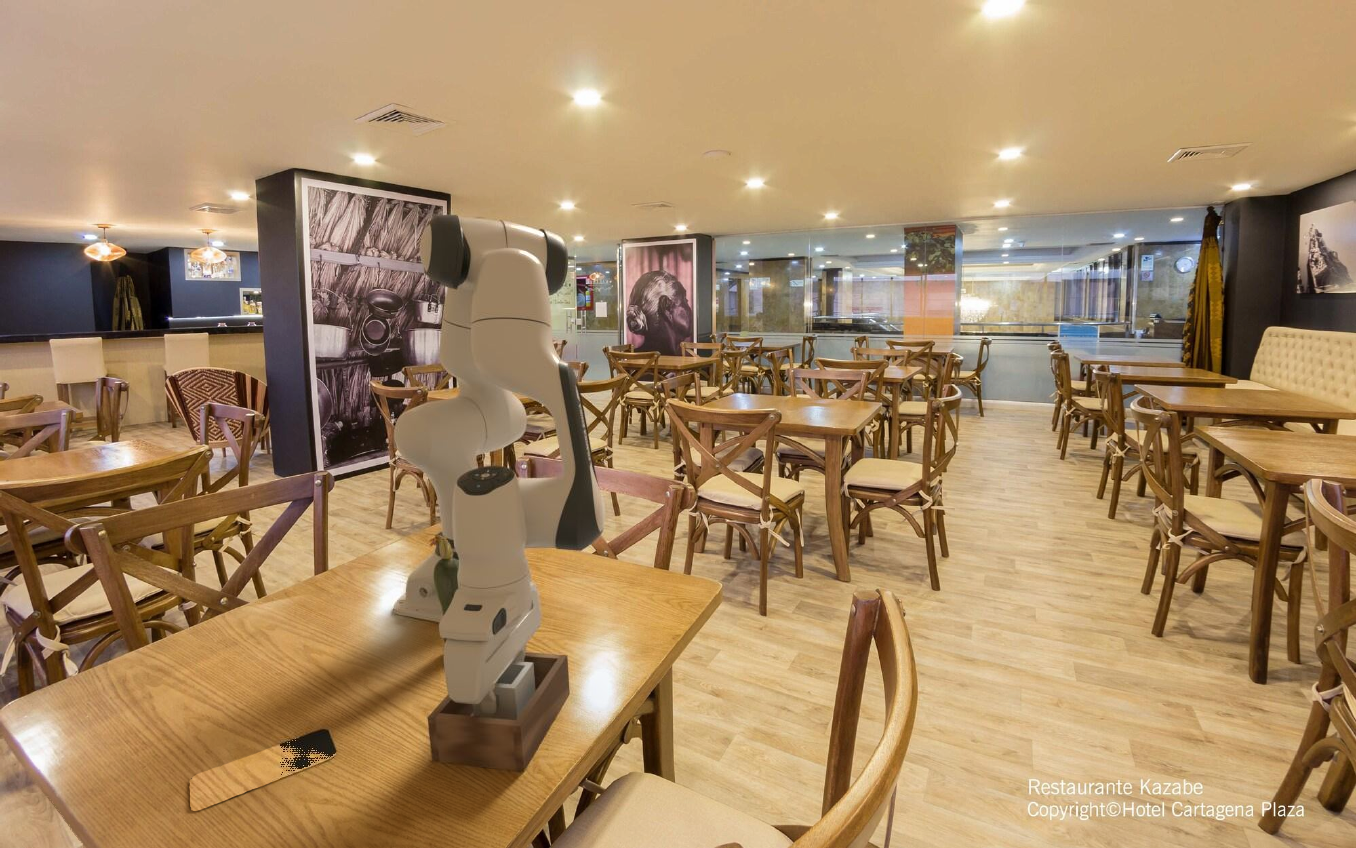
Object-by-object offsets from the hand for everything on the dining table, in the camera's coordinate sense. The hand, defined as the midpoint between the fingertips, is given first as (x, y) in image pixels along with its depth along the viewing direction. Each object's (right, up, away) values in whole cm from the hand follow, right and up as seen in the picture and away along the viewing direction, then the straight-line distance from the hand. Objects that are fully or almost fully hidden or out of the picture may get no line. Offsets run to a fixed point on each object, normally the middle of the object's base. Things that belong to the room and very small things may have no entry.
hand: (503, 693), depth 87 cm
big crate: (0, -5, +1) cm, 5 cm away
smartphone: (-28, -7, -6) cm, 29 cm away
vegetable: (-13, -2, +19) cm, 23 cm away
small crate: (0, -2, 0) cm, 2 cm away
